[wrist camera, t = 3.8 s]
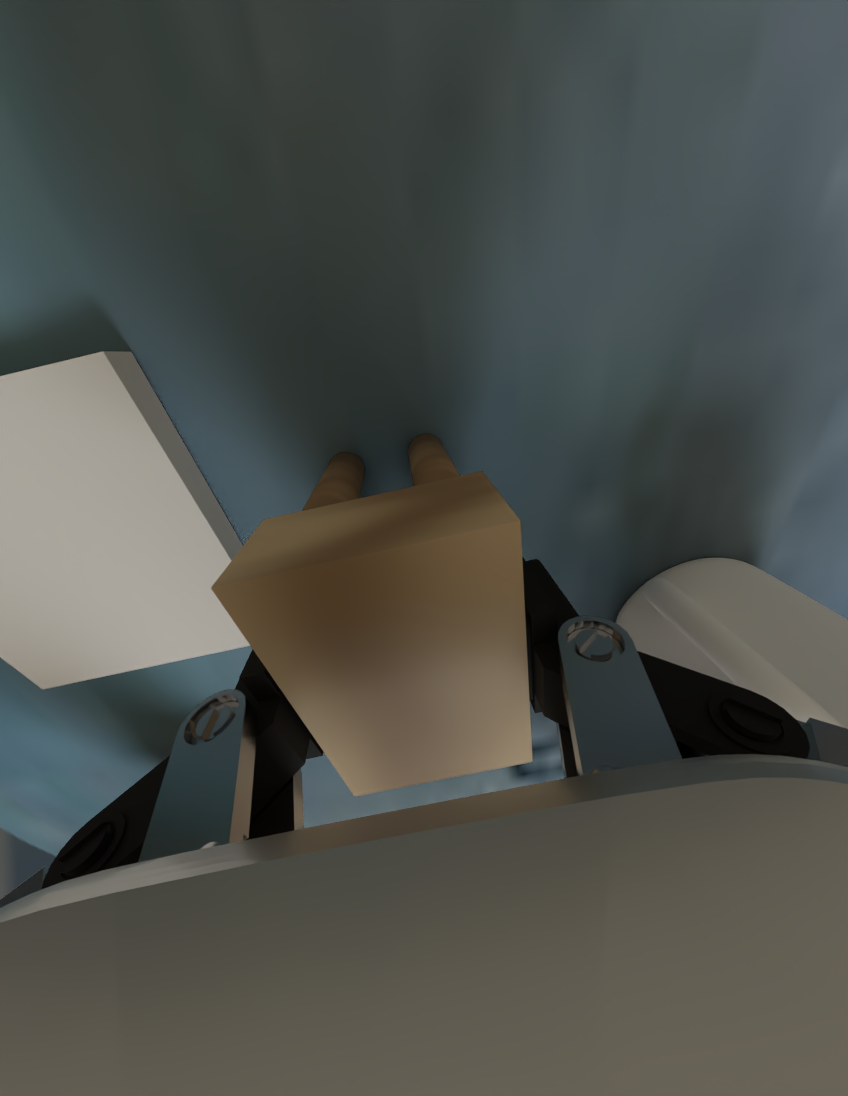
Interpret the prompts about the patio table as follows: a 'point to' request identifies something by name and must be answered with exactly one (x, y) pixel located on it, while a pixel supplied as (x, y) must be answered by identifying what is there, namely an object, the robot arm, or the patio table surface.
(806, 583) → the patio table surface
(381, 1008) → the robot arm
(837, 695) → the cup
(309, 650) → the pegged wooden block
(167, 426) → the tile
